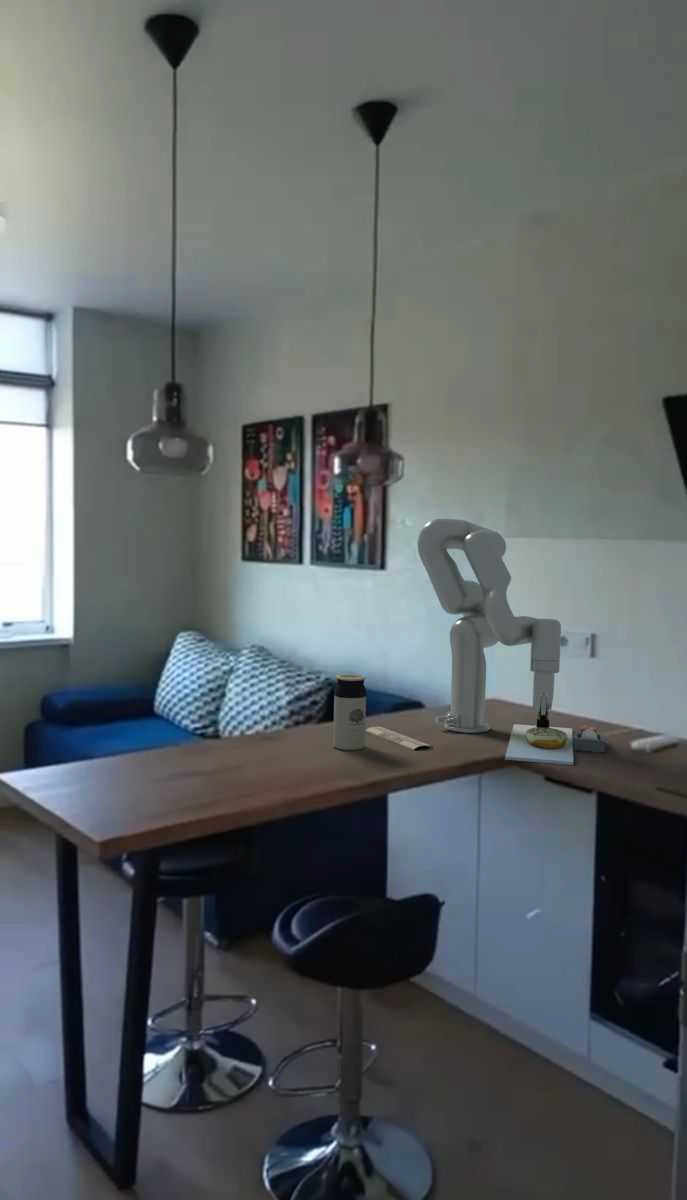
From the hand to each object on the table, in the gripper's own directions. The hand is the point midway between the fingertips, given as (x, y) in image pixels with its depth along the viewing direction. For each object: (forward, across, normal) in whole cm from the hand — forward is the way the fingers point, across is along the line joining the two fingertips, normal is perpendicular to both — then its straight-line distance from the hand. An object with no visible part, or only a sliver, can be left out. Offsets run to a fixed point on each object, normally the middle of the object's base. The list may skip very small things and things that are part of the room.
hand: (542, 734), depth 238 cm
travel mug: (+2, +23, -48) cm, 53 cm away
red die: (+2, -3, +12) cm, 12 cm away
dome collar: (+2, +4, +12) cm, 12 cm away
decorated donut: (+1, +7, +1) cm, 7 cm away
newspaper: (+3, +11, -37) cm, 39 cm away
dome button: (+1, +4, +12) cm, 12 cm away
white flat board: (+2, +4, 0) cm, 4 cm away
